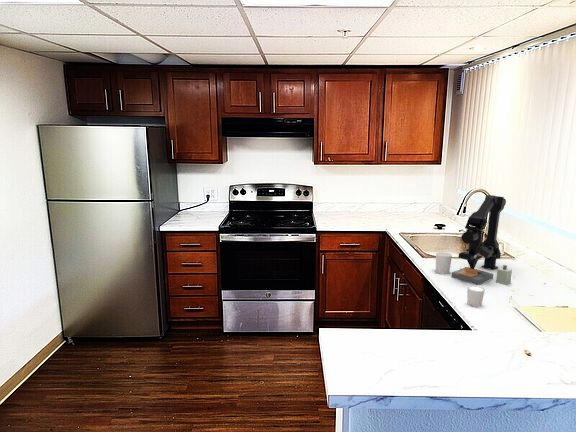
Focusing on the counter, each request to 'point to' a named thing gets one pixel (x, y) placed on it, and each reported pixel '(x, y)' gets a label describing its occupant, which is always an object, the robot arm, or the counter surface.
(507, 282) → the plug
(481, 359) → the counter surface
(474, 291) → the shot glass
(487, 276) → the socket
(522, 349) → the counter surface
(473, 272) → the shutter
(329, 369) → the counter surface
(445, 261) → the white cup
